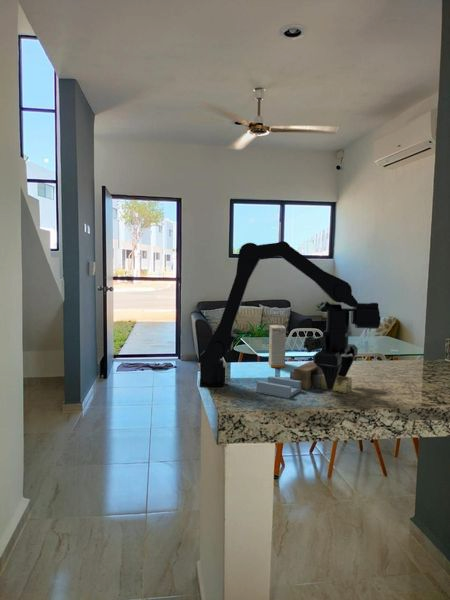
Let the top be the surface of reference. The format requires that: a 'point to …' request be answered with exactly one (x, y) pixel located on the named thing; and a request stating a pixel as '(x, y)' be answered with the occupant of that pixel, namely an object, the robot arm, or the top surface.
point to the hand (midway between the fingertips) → (335, 385)
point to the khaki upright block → (338, 384)
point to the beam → (306, 373)
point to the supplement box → (277, 346)
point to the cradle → (279, 387)
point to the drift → (314, 379)
